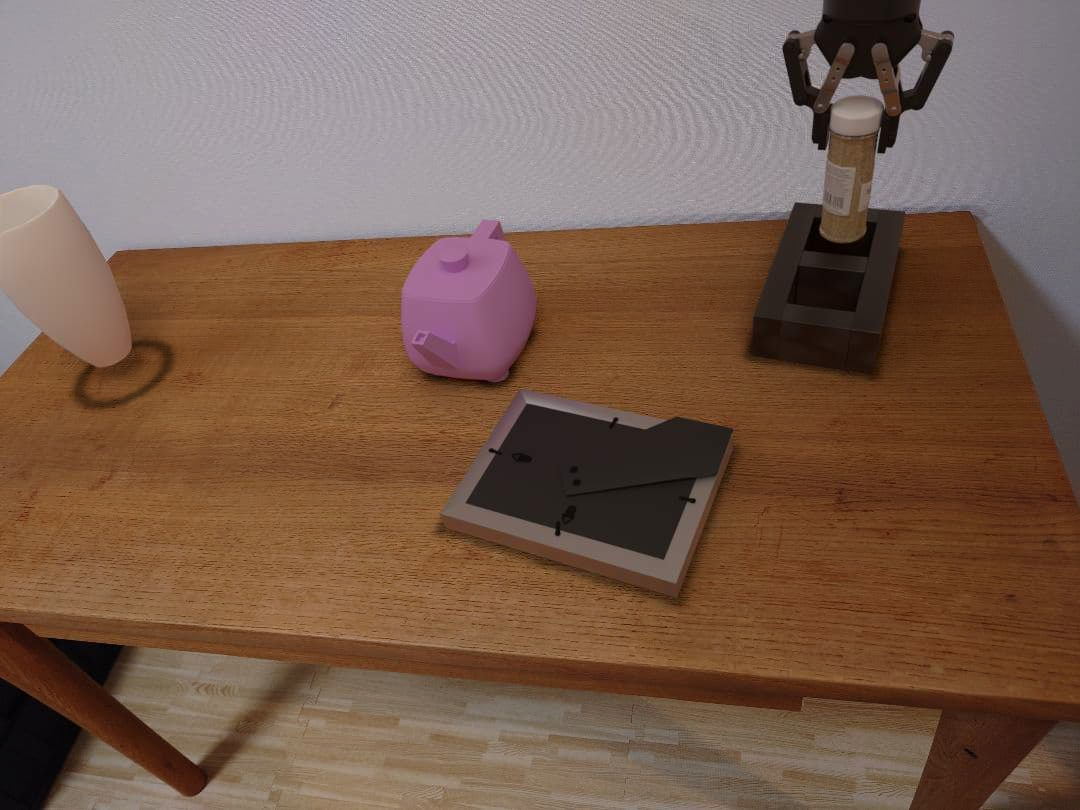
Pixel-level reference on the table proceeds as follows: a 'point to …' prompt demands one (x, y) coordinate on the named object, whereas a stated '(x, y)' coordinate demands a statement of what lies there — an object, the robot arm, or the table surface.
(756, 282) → the table surface
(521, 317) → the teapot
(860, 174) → the spice jar
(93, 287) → the peach conical vase
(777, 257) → the holder
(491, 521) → the picture frame
